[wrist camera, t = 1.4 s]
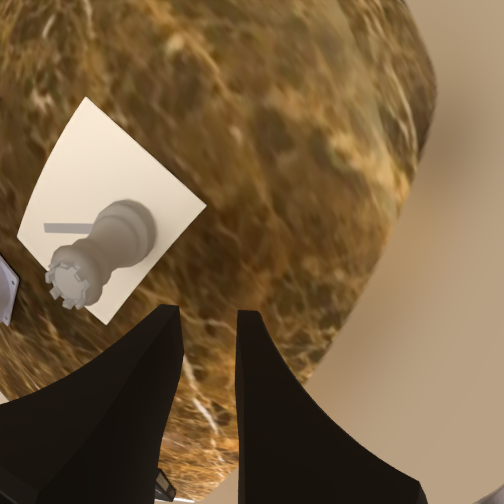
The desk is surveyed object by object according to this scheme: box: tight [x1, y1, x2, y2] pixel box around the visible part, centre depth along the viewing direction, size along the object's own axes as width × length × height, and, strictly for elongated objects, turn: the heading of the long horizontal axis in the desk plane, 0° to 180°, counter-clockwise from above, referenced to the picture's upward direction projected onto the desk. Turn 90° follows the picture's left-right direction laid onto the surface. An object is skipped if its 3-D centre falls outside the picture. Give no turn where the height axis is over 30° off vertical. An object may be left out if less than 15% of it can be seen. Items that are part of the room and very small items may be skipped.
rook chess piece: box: [45, 200, 156, 310], centre depth 14 cm, size 4×4×8 cm
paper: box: [17, 97, 207, 325], centre depth 17 cm, size 14×12×1 cm
